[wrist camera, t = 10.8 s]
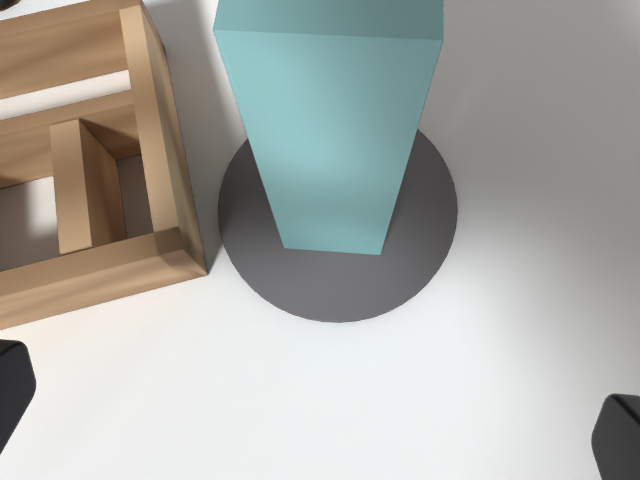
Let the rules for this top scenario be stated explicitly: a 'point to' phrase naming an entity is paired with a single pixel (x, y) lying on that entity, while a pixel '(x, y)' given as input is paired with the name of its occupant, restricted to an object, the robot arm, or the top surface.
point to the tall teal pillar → (330, 108)
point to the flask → (7, 4)
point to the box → (95, 159)
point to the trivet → (339, 267)
